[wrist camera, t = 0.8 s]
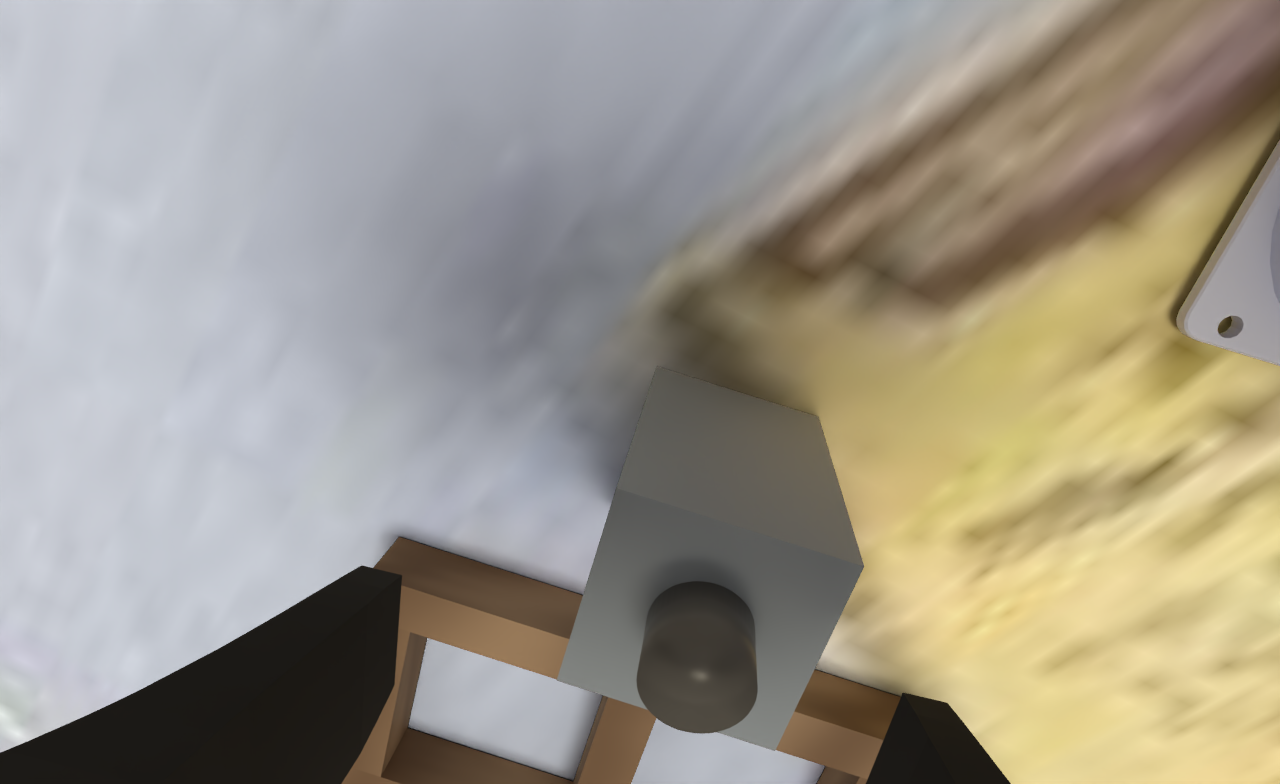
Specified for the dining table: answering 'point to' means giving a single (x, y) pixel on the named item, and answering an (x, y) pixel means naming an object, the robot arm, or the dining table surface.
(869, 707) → the socket board
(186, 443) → the dining table surface
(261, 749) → the robot arm
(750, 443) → the plug
